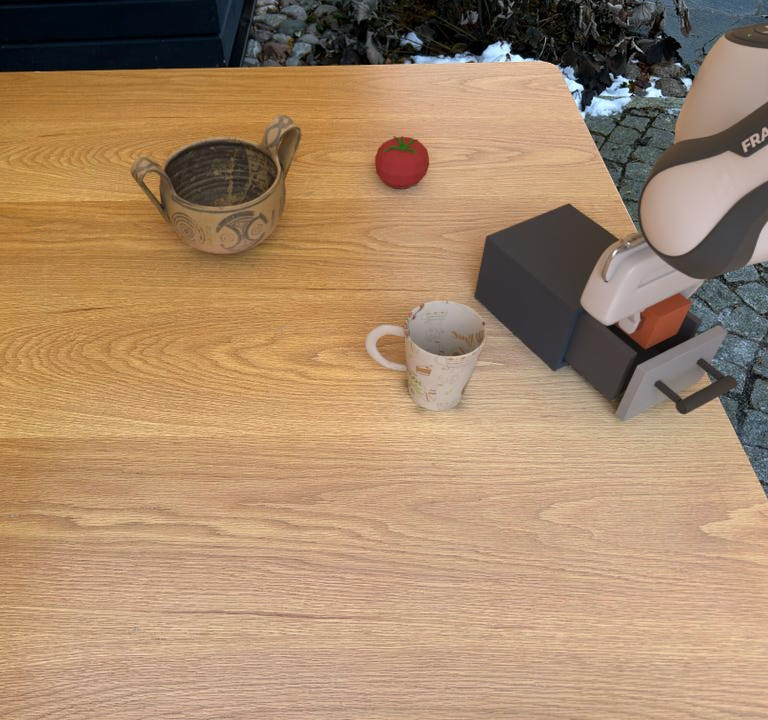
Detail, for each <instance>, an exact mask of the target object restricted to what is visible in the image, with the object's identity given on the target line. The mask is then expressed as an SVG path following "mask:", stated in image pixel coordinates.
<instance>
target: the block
mask: <svg viewBox="0 0 768 720" xmlns="http://www.w3.org/2000/svg"><path fill="white" fill-rule="evenodd" d="M692 304H693V302H692V301H691V300H690V299H689V298H688V299H687V298H685V297H684V296H683V295H681V294H680V293H677V294H675V295H673V296H671V297H669V298H667V299H665V300H663V301H661V302H658V303H656V304H654V305H652V306H650V307H648V308H646V309H645V310H644V311H643V312H640V314H641V315H642V316H643V317H645V318H646V319H645V322H644V324H643V326H642V328H641V329H639V330H637V331H635V332H633V333H631V334H628V333H626V332H625V331H624V330H623V329H622V328H620V326H619V321H618V322H616V323H614V324H615V325H616V326H617V327H618V328H620V329H621V330H622V331H623V332H624V333H626V334H627V335H628V336H629V337H631V338H632V339H633V340H634V341H635V342H637V343H638V344H639V345H640V346H642V347H643V348H644V349H647V348H649V347H651V346H653V345H655V344H657V343H659V342H661V341H663V340H665V339H667V338H670V337H672V336H674V335H676V334H677V332H678V330H679V328H680V326H681V324H682V322H683V320H684V318H685V316H686V314H687V312H688V310H689V311H690V308H691V307H692Z"/></svg>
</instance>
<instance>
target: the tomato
mask: <svg viewBox="0 0 768 720" xmlns="http://www.w3.org/2000/svg"><path fill="white" fill-rule="evenodd" d="M374 165H375V171H376V172H375V173H376V174H377V177H379V178H380V179H381V180H382V182H383V183H385V184H386V185H387V186H388V187H391V188H395V189H409V188H411V187H413V186H415V185H417V184H418V183H419V182H421V181H422V180H423V179H424V177H425V176H426V175H427V173H428V170H429V168H430V157H429V152H428V149H427V147H426V146H425V145H424V144H423V143H422V142H420V140H418V139H416V138H413V137H408V136H403V135H402V136H395V135H393V138H390V139H388V140H386V141H385V142H383V143H382V144H381V145H380V146H379V147H378V149H377V151H376V154H375V156H374Z"/></svg>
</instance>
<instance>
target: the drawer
mask: <svg viewBox="0 0 768 720" xmlns="http://www.w3.org/2000/svg"><path fill="white" fill-rule="evenodd" d="M702 322H703V319H701V318H699V317H698V316H697V315H696V314H694V313H693V312H691V310H690V309H689V310H688V312H687V314H686V316H685V318H684V320H683V322H682V324H681V326H680V328H679V330H678V332H677V334H676V335H674V336H672V337H670V338H667V339H665V340H663V341H661V342H659V343H657V344H655V345H653V346H651V347H649V348H647V349H644V348H643V347H642V346H640V345H639V344H638V343H637V342H635V341H634V340H633V339H632V338H631V337H629V336H628V335H627V334H626V333H624V332H623V331H622V330H621V329H620V328H618V327H617V326H616V325H615V324H612V325H609V326H606V325H604V324H602V323H601V322H599V321H598V320H596V319H595V318H594V317H593V316H591V315H590V314H589V313H588V312H587V311H586V310H584V311H582V312H580V313H578V316H577V319H576V322H575V325H574V328H573V331H572V333H571V336H570V339H569V342H568V345H567V348H566V351H565V354H564V357H563V358H564V359H565V360H566V361H567V362H568V363H569V365H570V366H571V367H572V368H573V369H574V370H576V372H578V373H579V374H580V375H581V376H582V377H583V378H584V379H586V381H588V382H589V384H591V385H592V386H593V387H594V388H595V389H597V390H598V391H599V393H601V394H602V395H603V396H604V397H605V398H606V399H607V400H609V402H613V401H616V400H617V399H620V398H621V400H620V402H619V404H618V406H617V409H616V412H615V413H614V415H615V416H616V417H617V418H618V419H619V420H620V421H621V422H623V423H624V422H625V421H628V420H629V419H632V418H634V417H635V416H638V415H639V414H641V413H643V412H644V411H647V410H648V409H650V408H653V407H654V406H656V405H658V404H660V403H662V402H664V401H666V400H667V399H669V400H670V401H671V402H673V404H675V409H676V411H677V412H678V413H679V414H681V415H687V414H689V413H691V412H693V411H694V410H696V409H698V408H700V407H702V406H704V405H706V404H708V403H709V402H712V401H713V400H715V399H717V398H719V397H721V396H722V395H724V394H727V393H728V392H730V391H732V390H733V389H735V388H737V386H738V381H737V379H736V378H735V377H734V376H733V375H730V374H729V375H728V374H727V375H725V374H724V373H722V372H721V371H720V370H718V369H717V368H716V367H714V366H713V365H712V364H711V363H712V361H713V359H714V358H715V355H716V354H717V351H718V350H719V349H720V347H721V345H722V343H723V342H724V339H726V337H727V334H728V332H729V331H728V330H727V329H725V328H724V327H722V325H720V324H718V325H716V326H713V327H712V328H709V329H708V330H706V331H704V332H701V333H699V334H698V335H696V334H697V332H698V330H699V328H700V326H701V324H702ZM705 373H707V374H709V376H711V377H712V378H714V379H715V380H716V381H714V382H712V383H711V384H708V385H707V386H704V387H702V388H701V389H699V390H697V391H695V392H693V393H691V394H690V395H687V396H686V397H684V398H682V397H681V396H680V395H679V393H681V392H683V391H684V390H687V389H689V388H690V387H693V386H694V385H696V384H698V383H700V382H701V381H702V379H703V377H704V375H705Z"/></svg>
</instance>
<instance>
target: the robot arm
mask: <svg viewBox="0 0 768 720" xmlns="http://www.w3.org/2000/svg"><path fill="white" fill-rule="evenodd" d="M683 101H684V102H683V104H682V106H681V108H680V112H679V114H678V116H677V119H676V123H675V127H674V139H673V144H672V145H670V146H668V147H667V148H666V149H665V150H664V151H663V152H662V154H661V155H660V156H659V158H658V159H657V160H656V161H655V163H654V165H653V166H652V168H651V169H650V171H649V173H648V175H647V177H646V179H645V181H644V183H643V186H642V187H641V191H640V194H639V197H638V203H637V221H638V226H639V229H640V231H638V232H636V233H631V234H628V235H625V236H624V237H623V238H621V239H619V241H617V242H615V243H614V244H612V245H611V246H609V247H608V248H607V249H606V250H605V251H604V253H603V254H602V255H601V257H600V258H599V260H598V262H597V264H596V265H595V267H594V269H593V271H592V273H591V276H590V278H589V280H588V282H587V284H586V286H585V289H584V291H583V294H582V296H581V300H580V302H581V305H582V306H583V308H584V309H585V310H586V311H587V312H588V313H589V314H590V315H591V316H593V317H594V318H595V319H596V320H598V321H599V322H601V323H602V324H604V325H606V326H609V325H612V324H614V323H616V322H618V321H619V326H620V328H622V329H623V330H624V331H625V332H626V333H628V334H631V333H633V332H635V331H637V330H639V329H641V328H642V326H643V324H644V322H645V319H646V318H645V317H643V316H642V315H641V314H640V312H643V311H644V310H645V309H646V308H648V307H650V306H652V305H654V304H656V303H658V302H661V301H663V300H665V299H667V298H669V297H671V296H673V295H675V294H677V293H680V294H681V295H683V296H684V297H685V298H687V299H688V300H689V298H691V296H692V295H694V294H695V292H696V291H697V290H699V288H700V287H701V286H702V285H703V284H704V283H705V281H707V280H710V279H713V278H716V277H719V276H722V275H725V274H729V273H731V272H735V271H738V270H741V269H743V268H744V267H748V266H752V265H757V264H761V263H766V262H768V22H762V23H761V22H760V23H755V24H749V25H745V26H740V27H737V28H733V29H731V30H729V31H728V32H725V33H724V34H722V36H720V37H719V39H718V40H717V41H715V43H714V44H713V45H712V47H711V48H710V50H709V51H708V53H707V54H706V55H705V56H704V59H703V61H702V63H701V65H700V66H699V68H698V70H697V71H696V74H695V76H694V79H693V81H692V83H691V85H690V87H689V89H688V92H687V94H686V96H685V99H684V100H683Z"/></svg>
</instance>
